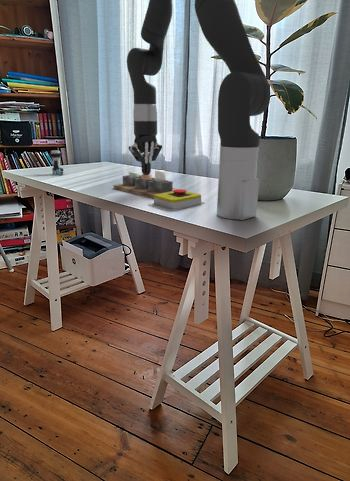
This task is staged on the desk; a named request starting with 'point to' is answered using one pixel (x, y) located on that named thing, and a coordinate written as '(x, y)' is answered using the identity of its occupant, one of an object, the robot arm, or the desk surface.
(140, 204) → the desk surface
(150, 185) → the brown wooden flat board
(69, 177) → the desk surface
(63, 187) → the desk surface
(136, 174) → the sage key
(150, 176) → the peach small block
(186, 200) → the emergency button
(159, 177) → the ivory key
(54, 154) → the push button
